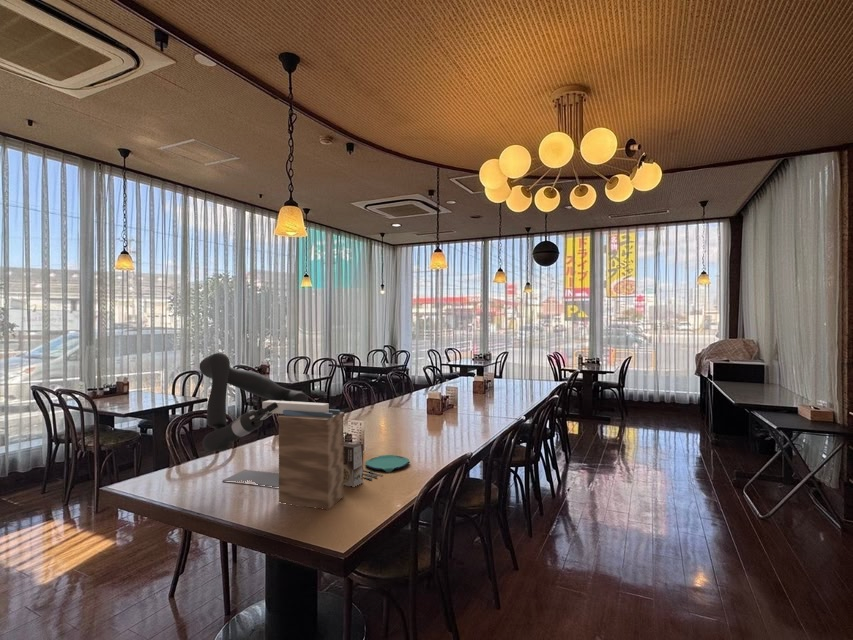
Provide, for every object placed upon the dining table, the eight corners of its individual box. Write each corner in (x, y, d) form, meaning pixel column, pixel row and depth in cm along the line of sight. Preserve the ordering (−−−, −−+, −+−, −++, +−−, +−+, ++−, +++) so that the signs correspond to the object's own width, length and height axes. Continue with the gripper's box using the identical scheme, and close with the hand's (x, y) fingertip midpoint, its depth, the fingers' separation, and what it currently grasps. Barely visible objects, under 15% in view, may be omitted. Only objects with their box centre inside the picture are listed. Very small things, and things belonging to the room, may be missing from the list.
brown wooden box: (298, 490, 176) (298, 405, 176) (344, 496, 170) (344, 408, 170) (277, 504, 162) (277, 412, 162) (326, 511, 157) (326, 415, 157)
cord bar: (268, 410, 174) (268, 400, 174) (328, 414, 167) (328, 403, 167) (262, 412, 170) (262, 401, 170) (323, 416, 163) (323, 405, 163)
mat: (245, 471, 199) (245, 469, 199) (304, 477, 191) (304, 475, 191) (222, 481, 186) (222, 480, 186) (285, 489, 177) (285, 487, 177)
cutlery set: (417, 464, 209) (417, 459, 209) (373, 483, 185) (373, 478, 185) (385, 457, 221) (385, 452, 221) (340, 474, 197) (340, 469, 197)
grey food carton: (363, 482, 184) (363, 443, 184) (353, 487, 179) (353, 447, 179) (346, 479, 189) (346, 440, 189) (336, 483, 183) (336, 444, 183)
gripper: (230, 418, 168) (264, 397, 164) (254, 411, 182) (286, 391, 178) (238, 436, 167) (273, 415, 163) (262, 427, 181) (294, 408, 176)
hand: (280, 403), depth 170 cm, fingers closed on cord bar, 4 cm apart
